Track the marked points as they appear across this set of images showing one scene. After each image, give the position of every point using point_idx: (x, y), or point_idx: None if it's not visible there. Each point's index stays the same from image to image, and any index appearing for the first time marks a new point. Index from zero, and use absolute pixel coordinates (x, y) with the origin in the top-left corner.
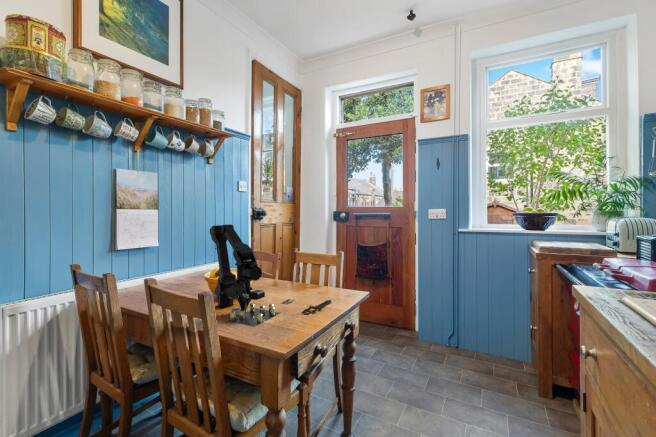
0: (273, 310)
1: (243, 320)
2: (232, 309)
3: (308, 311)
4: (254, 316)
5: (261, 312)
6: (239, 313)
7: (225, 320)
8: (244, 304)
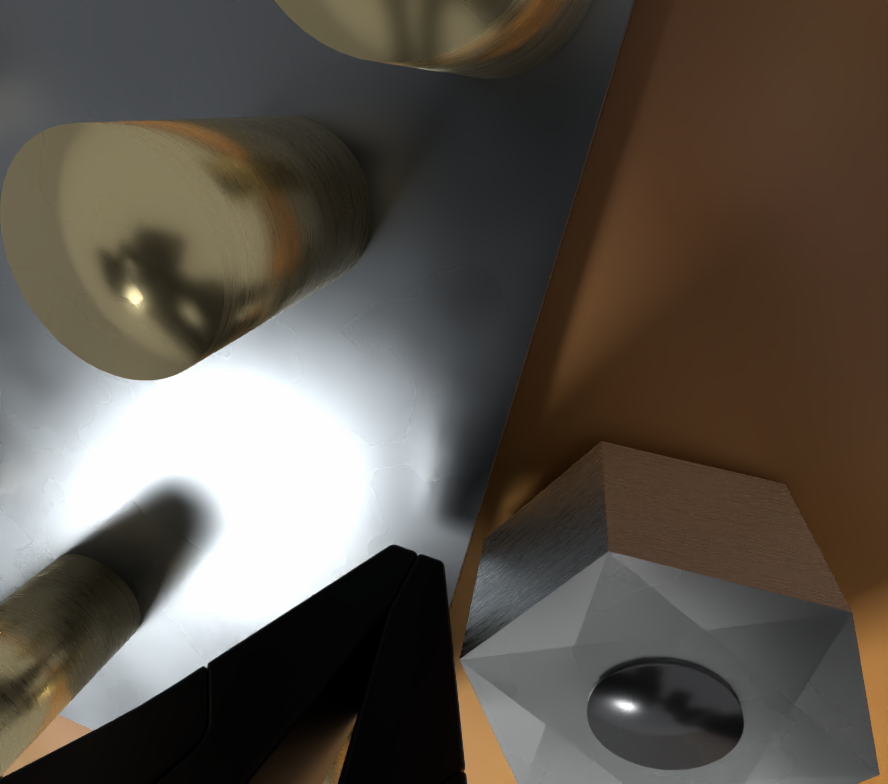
0: None
1: (170, 67)
2: (843, 684)
3: None
4: (113, 419)
5: (42, 580)
6: (225, 147)
7: (875, 40)
8: (145, 714)
